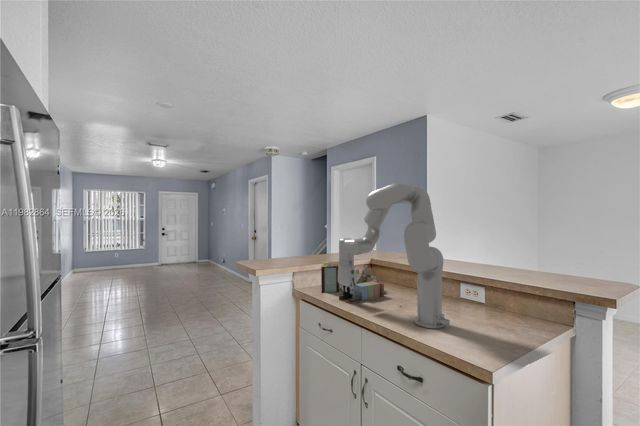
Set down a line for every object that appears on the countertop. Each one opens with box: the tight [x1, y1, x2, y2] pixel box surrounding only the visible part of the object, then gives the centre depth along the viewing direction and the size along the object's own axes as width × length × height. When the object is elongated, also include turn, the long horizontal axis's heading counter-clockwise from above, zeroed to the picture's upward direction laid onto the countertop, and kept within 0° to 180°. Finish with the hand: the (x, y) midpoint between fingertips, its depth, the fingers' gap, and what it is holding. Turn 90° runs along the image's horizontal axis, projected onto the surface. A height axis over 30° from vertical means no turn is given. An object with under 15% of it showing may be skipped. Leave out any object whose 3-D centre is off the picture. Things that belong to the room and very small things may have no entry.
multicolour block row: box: [338, 281, 385, 305], centre depth 160 cm, size 9×23×8 cm, turn 124°
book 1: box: [354, 284, 368, 300], centre depth 160 cm, size 6×4×7 cm, turn 34°
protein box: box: [320, 261, 341, 294], centre depth 181 cm, size 10×15×16 cm
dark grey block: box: [347, 290, 362, 302], centre depth 158 cm, size 6×6×4 cm
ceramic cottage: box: [351, 264, 380, 291], centre depth 177 cm, size 16×16×15 cm
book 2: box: [361, 283, 374, 299], centre depth 163 cm, size 6×4×7 cm, turn 34°
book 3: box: [367, 281, 381, 299], centre depth 165 cm, size 6×4×7 cm, turn 34°
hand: (346, 299), depth 155 cm, fingers closed
